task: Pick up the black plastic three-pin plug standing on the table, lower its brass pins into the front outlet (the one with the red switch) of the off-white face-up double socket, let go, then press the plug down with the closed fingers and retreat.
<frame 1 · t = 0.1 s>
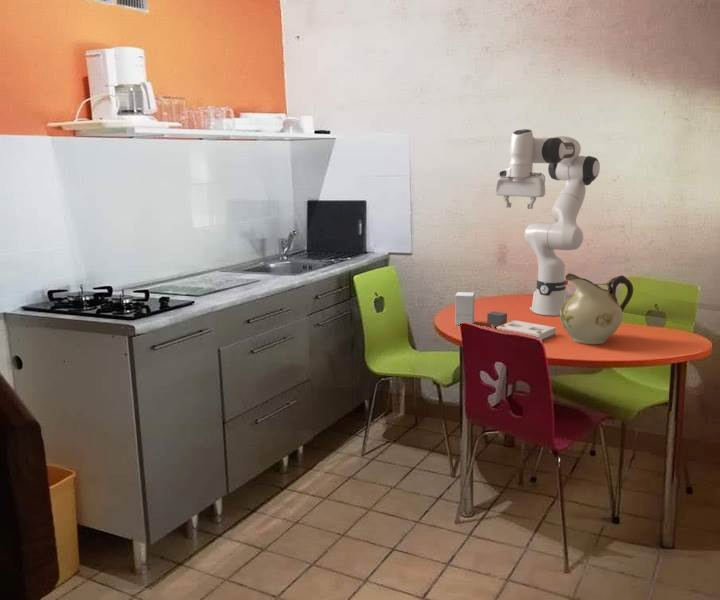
hand: (519, 208, 278), 48 cm above the table, fingers open, 8 cm apart
pitcher: (589, 340, 267), on the table
supplement box: (464, 323, 293), on the table
double socket: (525, 334, 275), on the table
plug: (496, 327, 285), on the table
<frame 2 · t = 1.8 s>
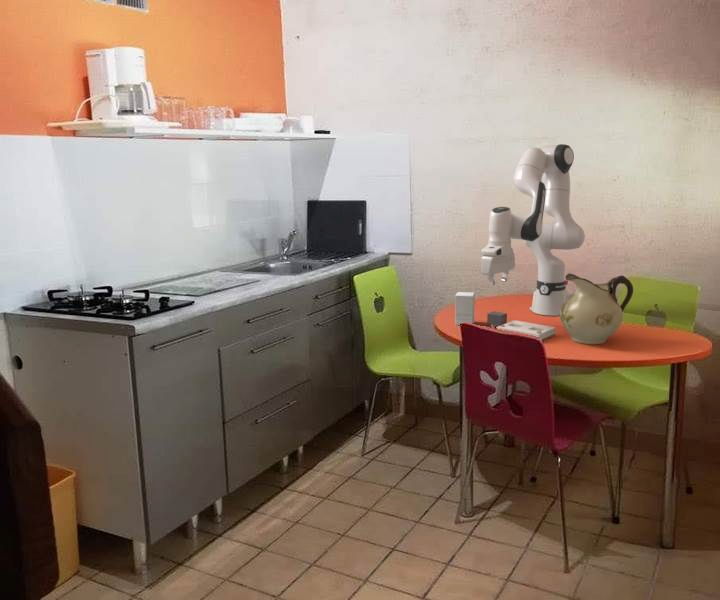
hand: (498, 283, 281), 18 cm above the table, fingers open, 8 cm apart
nothing on the table moved.
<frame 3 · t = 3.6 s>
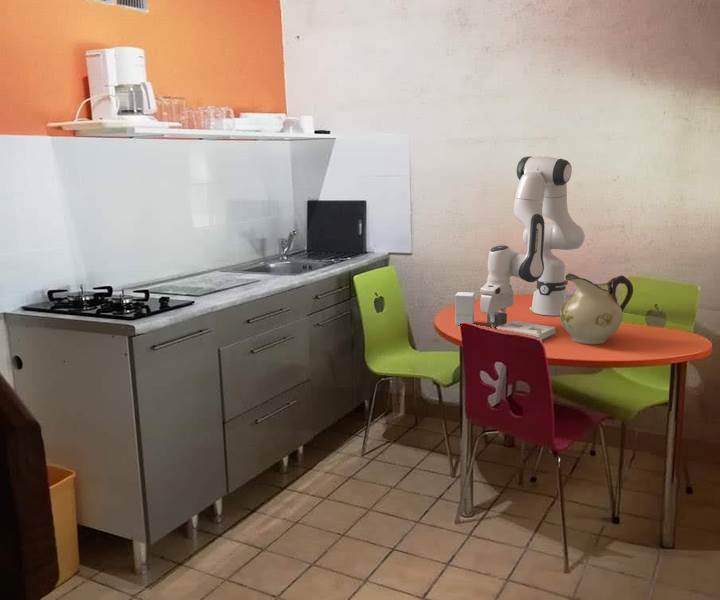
hand: (497, 320, 285), 3 cm above the table, fingers closed on plug, 5 cm apart
plug: (496, 327, 285), on the table, touching gripper
everything else where it was.
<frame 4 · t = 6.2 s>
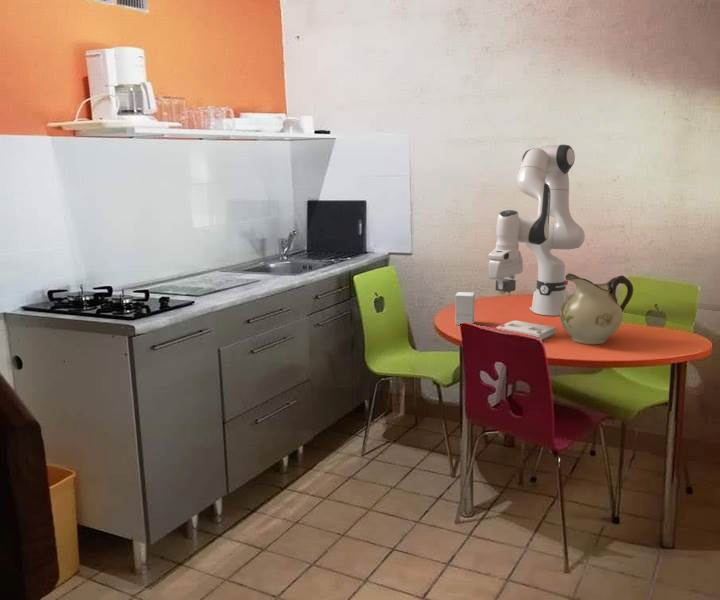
hand: (505, 287, 278), 17 cm above the table, fingers closed on plug, 5 cm apart
plug: (505, 295, 279), point 14 cm above the table, touching gripper
everything else where it was.
when the fingers open (5 cm above the table, at t = 8.7 s): plug stays where it is, resting on double socket.
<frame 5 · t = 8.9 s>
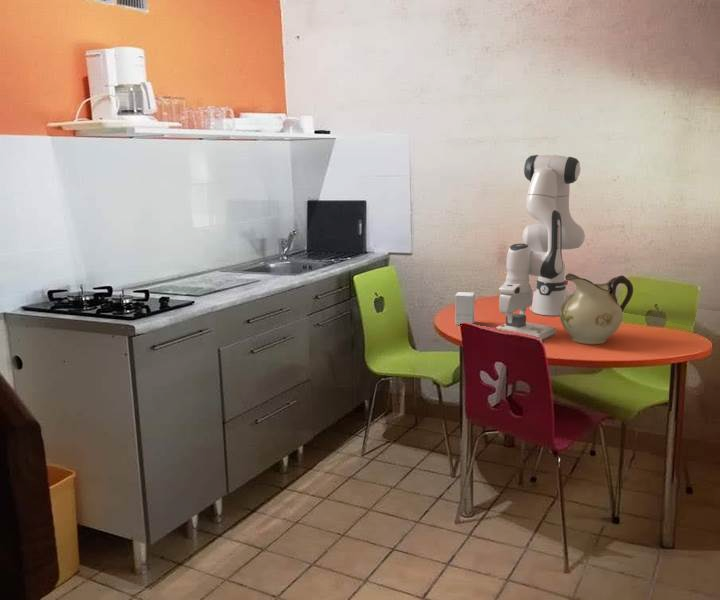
hand: (515, 320, 277), 5 cm above the table, fingers open, 7 cm apart
plug: (515, 330, 278), point 1 cm above the table, touching double socket
everything else where it was.
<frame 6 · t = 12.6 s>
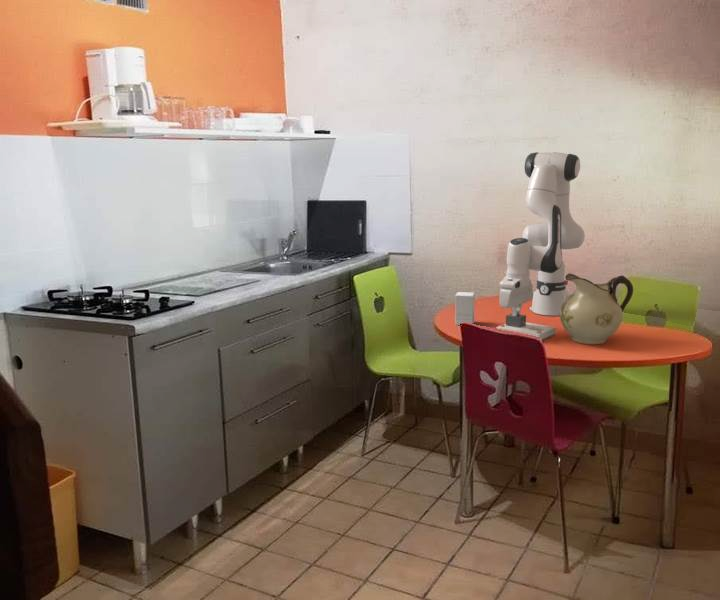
hand: (516, 315, 276), 7 cm above the table, fingers closed, pressing on plug
plug: (515, 330, 278), point 1 cm above the table, touching double socket, gripper
everything else where it was.
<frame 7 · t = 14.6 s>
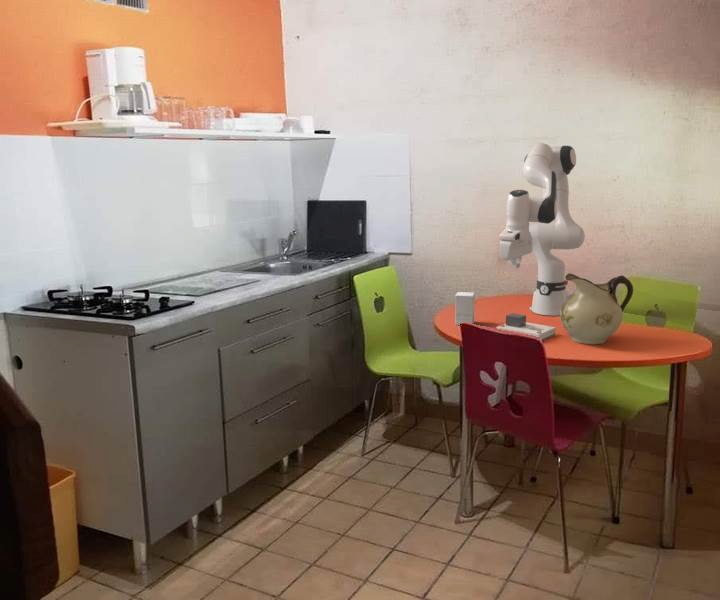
hand: (516, 267, 277), 25 cm above the table, fingers closed
plug: (515, 330, 278), point 1 cm above the table, touching double socket
everything else where it was.
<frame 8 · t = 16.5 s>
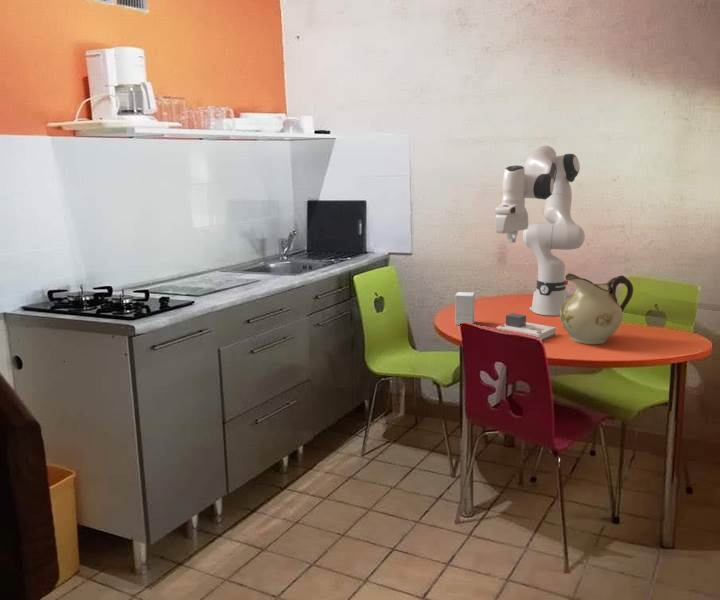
hand: (511, 242, 281), 34 cm above the table, fingers closed
nothing on the table moved.
at the end: plug 0.1 cm from the target spot on the double socket, point 1.0 cm above the double socket's base; plug tilted 0°; the gripper is holding nothing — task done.
